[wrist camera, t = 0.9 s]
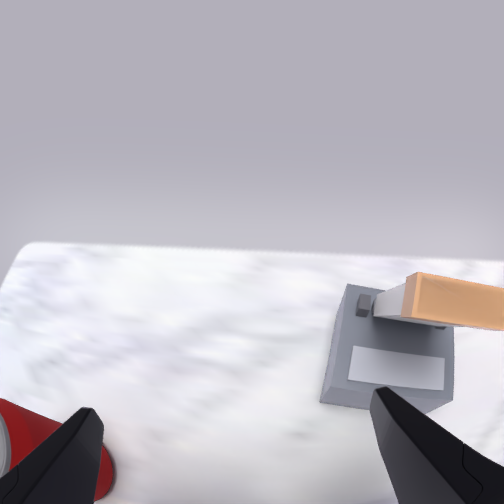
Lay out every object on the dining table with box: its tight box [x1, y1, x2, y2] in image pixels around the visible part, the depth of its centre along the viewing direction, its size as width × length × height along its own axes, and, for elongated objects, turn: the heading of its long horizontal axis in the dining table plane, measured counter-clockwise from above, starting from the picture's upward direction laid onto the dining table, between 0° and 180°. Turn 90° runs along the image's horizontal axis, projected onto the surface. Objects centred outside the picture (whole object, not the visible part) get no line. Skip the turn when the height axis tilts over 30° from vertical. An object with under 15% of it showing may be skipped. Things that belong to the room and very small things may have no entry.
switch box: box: [320, 284, 454, 414], centre depth 20 cm, size 8×9×6 cm
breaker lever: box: [372, 272, 504, 331], centre depth 15 cm, size 2×5×10 cm, turn 74°
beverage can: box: [0, 398, 113, 501], centre depth 13 cm, size 7×7×12 cm
